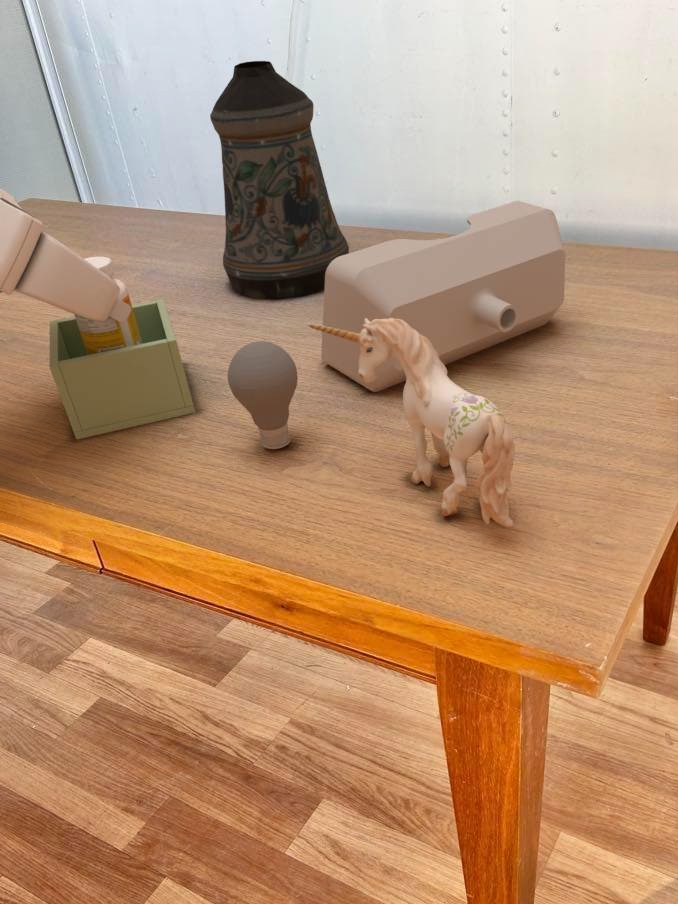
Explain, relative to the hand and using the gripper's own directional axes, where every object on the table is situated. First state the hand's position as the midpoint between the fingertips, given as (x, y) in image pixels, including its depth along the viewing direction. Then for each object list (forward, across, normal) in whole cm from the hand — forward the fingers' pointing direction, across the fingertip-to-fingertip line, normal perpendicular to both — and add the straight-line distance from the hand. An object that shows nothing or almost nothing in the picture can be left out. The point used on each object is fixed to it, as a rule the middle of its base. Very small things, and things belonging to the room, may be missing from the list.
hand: (108, 306), depth 82 cm
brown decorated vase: (+29, -16, +15) cm, 37 cm away
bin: (+7, 0, -8) cm, 10 cm away
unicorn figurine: (+11, +36, -3) cm, 38 cm away
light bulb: (+10, +20, -5) cm, 22 cm away
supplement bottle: (+4, 0, -4) cm, 6 cm away
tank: (+27, +20, +13) cm, 36 cm away
